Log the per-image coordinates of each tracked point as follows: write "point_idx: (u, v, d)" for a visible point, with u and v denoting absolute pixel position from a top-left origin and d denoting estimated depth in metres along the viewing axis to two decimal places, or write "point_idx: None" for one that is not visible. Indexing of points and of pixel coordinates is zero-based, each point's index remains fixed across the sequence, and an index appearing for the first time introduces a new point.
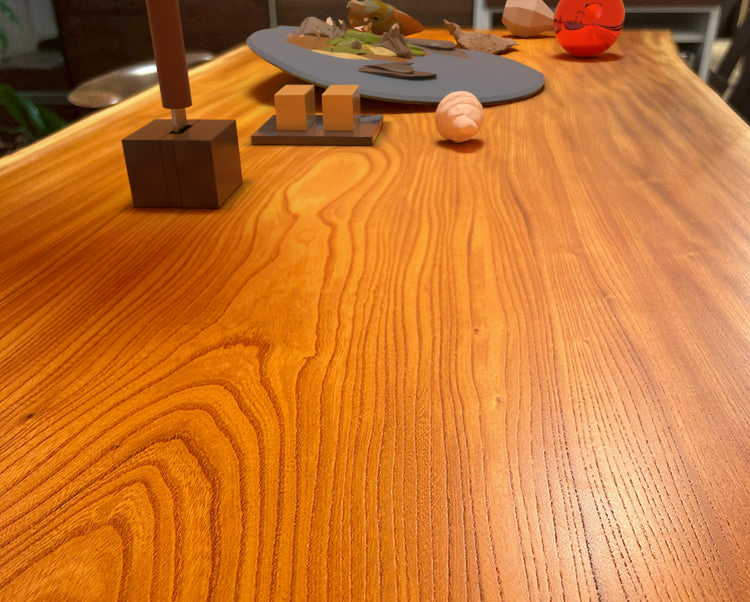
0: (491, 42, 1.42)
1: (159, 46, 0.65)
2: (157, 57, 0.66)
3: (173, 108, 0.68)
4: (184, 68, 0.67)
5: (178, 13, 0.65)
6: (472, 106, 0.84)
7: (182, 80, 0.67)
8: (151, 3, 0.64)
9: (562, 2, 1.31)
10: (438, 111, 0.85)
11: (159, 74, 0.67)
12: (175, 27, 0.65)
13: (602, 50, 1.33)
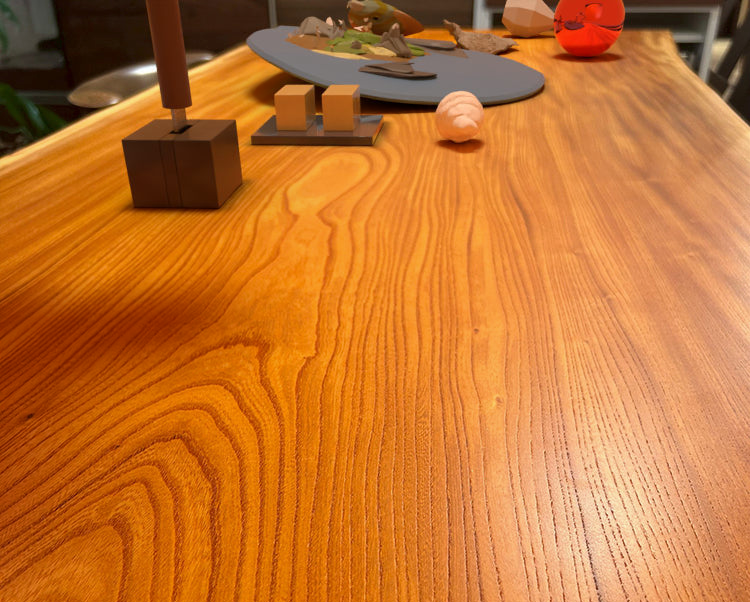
0: (491, 42, 1.42)
1: (159, 46, 0.65)
2: (157, 57, 0.66)
3: (173, 108, 0.68)
4: (184, 68, 0.67)
5: (178, 13, 0.65)
6: (472, 106, 0.84)
7: (182, 80, 0.67)
8: (151, 3, 0.64)
9: (562, 2, 1.31)
10: (438, 111, 0.85)
11: (159, 74, 0.67)
12: (175, 27, 0.65)
13: (602, 50, 1.33)
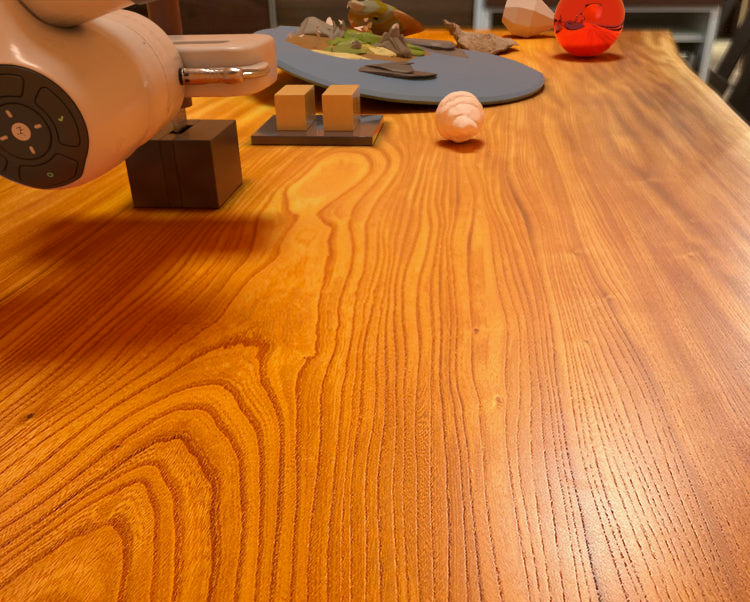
0: (491, 42, 1.42)
1: None
2: None
3: None
4: None
5: (178, 13, 0.65)
6: (472, 106, 0.84)
7: None
8: (151, 3, 0.64)
9: (562, 2, 1.31)
10: (438, 111, 0.85)
11: None
12: (175, 27, 0.65)
13: (602, 50, 1.33)
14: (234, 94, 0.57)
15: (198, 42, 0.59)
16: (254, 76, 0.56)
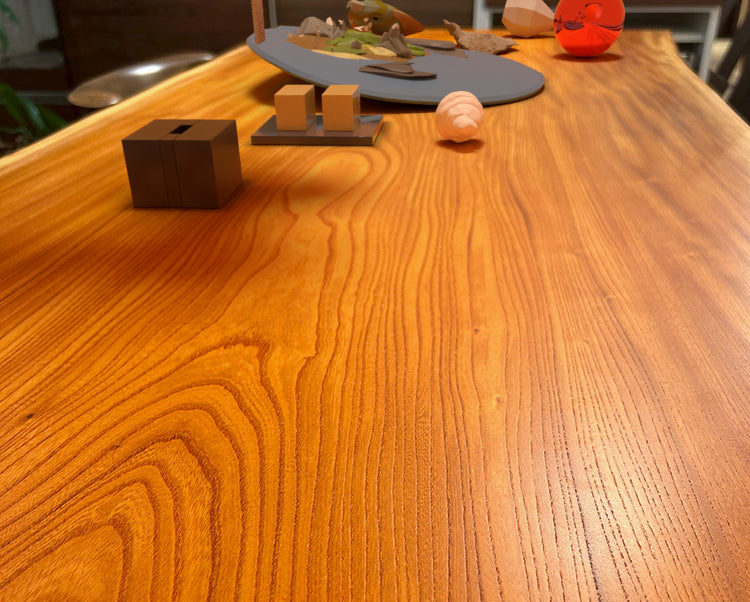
0: (491, 42, 1.42)
1: None
2: None
3: None
4: None
5: None
6: (472, 106, 0.84)
7: None
8: None
9: (562, 2, 1.31)
10: (438, 111, 0.85)
11: None
12: None
13: (602, 50, 1.33)
14: None
15: None
16: None
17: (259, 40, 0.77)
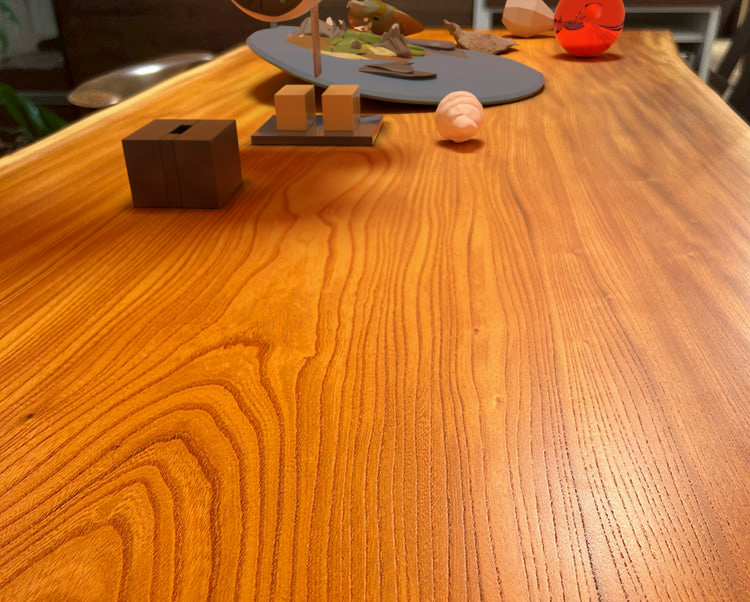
0: (491, 42, 1.42)
1: None
2: None
3: None
4: None
5: None
6: (472, 106, 0.84)
7: None
8: None
9: (562, 2, 1.31)
10: (438, 111, 0.85)
11: None
12: None
13: (602, 50, 1.33)
14: None
15: None
16: None
17: (318, 74, 0.88)
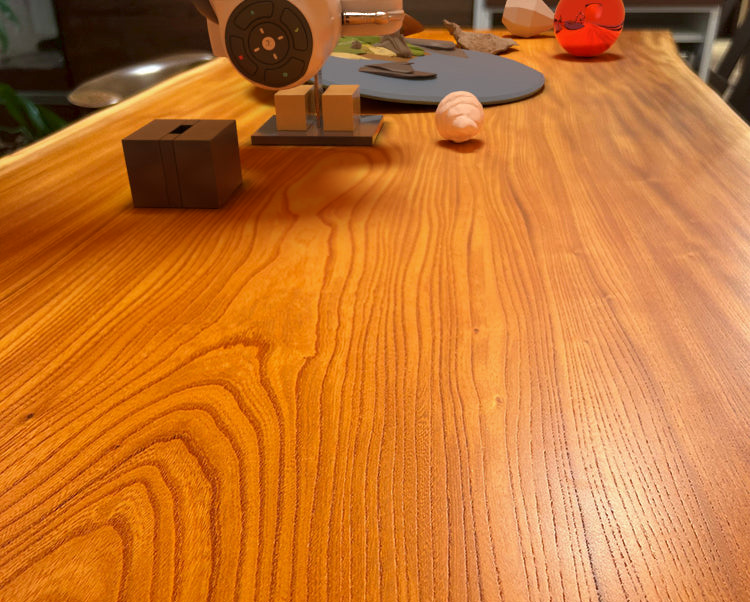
0: (491, 42, 1.42)
1: None
2: None
3: None
4: None
5: None
6: (472, 106, 0.84)
7: None
8: None
9: (562, 2, 1.31)
10: (438, 111, 0.85)
11: None
12: None
13: (602, 50, 1.33)
14: (378, 33, 0.76)
15: None
16: (396, 18, 0.74)
17: (320, 124, 0.91)
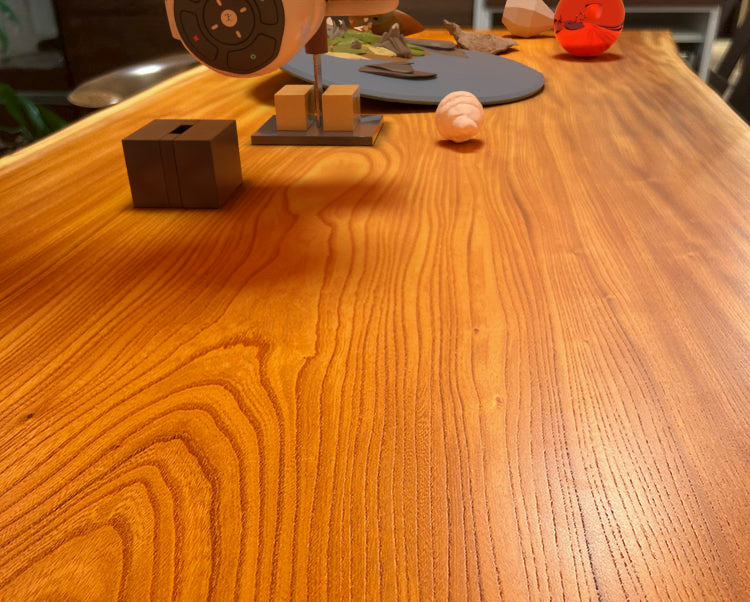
0: (491, 42, 1.42)
1: None
2: None
3: (315, 53, 0.87)
4: (325, 22, 0.86)
5: None
6: (472, 106, 0.84)
7: (323, 31, 0.86)
8: None
9: (562, 2, 1.31)
10: (438, 111, 0.85)
11: None
12: None
13: (602, 50, 1.33)
14: (370, 12, 0.64)
15: None
16: None
17: (320, 124, 0.91)
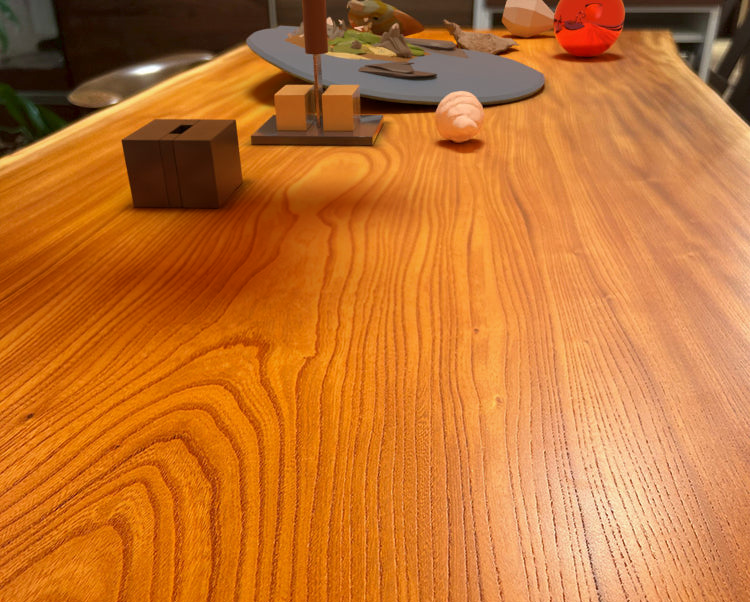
0: (491, 42, 1.42)
1: (308, 4, 0.84)
2: (305, 13, 0.85)
3: (315, 53, 0.87)
4: (325, 22, 0.86)
5: None
6: (472, 106, 0.84)
7: (323, 31, 0.86)
8: None
9: (562, 2, 1.31)
10: (438, 111, 0.85)
11: (306, 27, 0.86)
12: None
13: (602, 50, 1.33)
14: None
15: None
16: None
17: (320, 124, 0.91)
